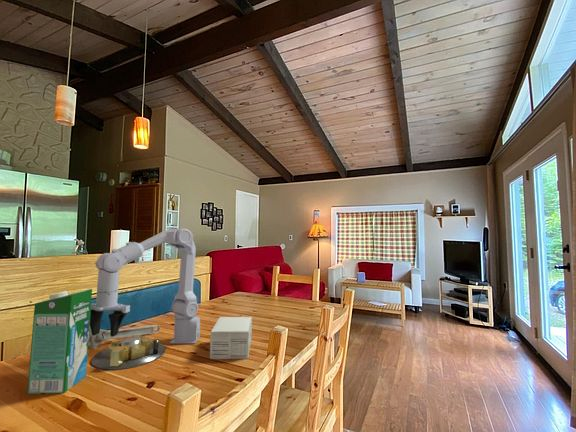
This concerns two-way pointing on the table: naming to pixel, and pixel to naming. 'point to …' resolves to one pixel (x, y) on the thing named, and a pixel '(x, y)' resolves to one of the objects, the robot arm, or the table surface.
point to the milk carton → (59, 342)
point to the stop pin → (155, 346)
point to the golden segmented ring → (128, 350)
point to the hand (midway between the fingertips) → (104, 334)
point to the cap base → (104, 361)
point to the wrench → (119, 334)
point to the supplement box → (231, 338)
